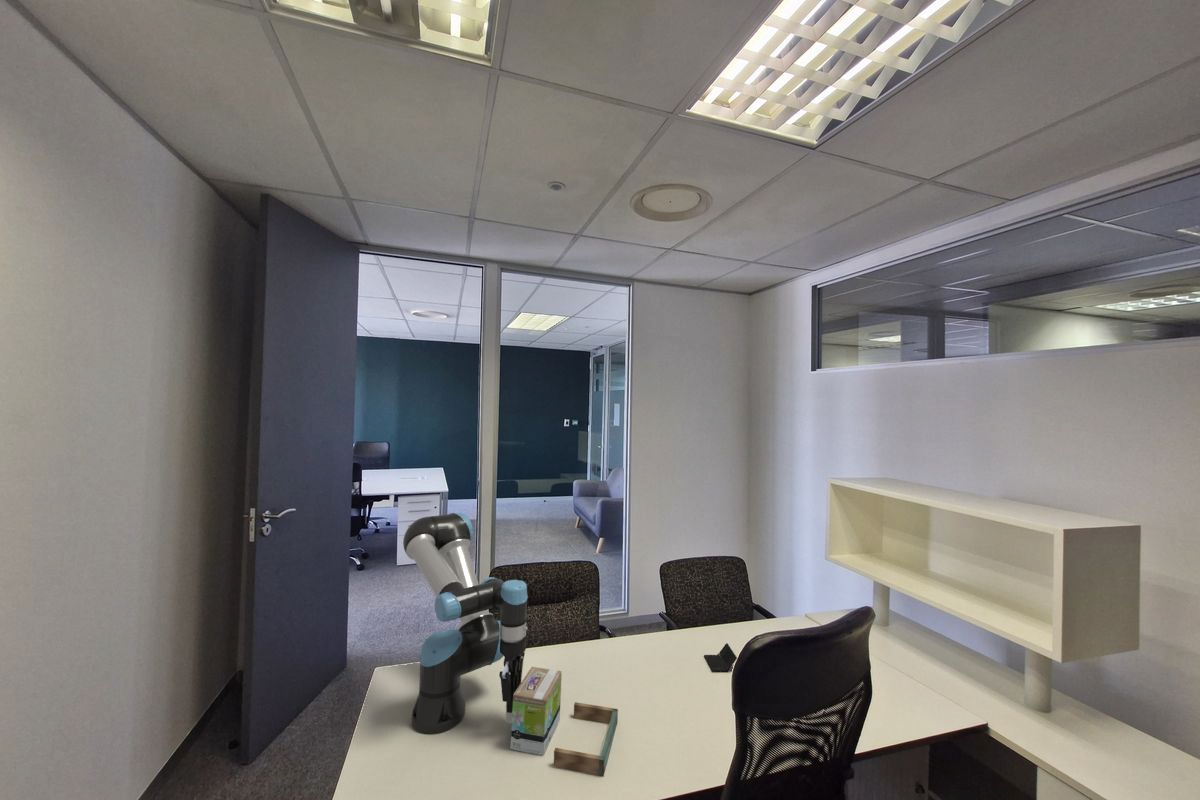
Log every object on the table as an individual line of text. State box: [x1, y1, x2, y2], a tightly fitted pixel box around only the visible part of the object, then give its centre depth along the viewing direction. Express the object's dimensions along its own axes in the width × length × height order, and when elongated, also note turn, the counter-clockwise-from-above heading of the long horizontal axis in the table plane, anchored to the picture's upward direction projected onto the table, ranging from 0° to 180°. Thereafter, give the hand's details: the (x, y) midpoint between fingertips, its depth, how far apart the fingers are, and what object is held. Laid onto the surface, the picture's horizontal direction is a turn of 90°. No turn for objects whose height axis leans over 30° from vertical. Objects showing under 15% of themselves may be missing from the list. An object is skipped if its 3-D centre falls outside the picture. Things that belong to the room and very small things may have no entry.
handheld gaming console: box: [703, 642, 738, 674], centre depth 165 cm, size 12×7×10 cm
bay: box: [553, 701, 619, 777], centre depth 123 cm, size 13×21×4 cm, turn 168°
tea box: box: [509, 666, 562, 756], centre depth 127 cm, size 15×10×15 cm
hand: (511, 720), depth 128 cm, fingers closed
